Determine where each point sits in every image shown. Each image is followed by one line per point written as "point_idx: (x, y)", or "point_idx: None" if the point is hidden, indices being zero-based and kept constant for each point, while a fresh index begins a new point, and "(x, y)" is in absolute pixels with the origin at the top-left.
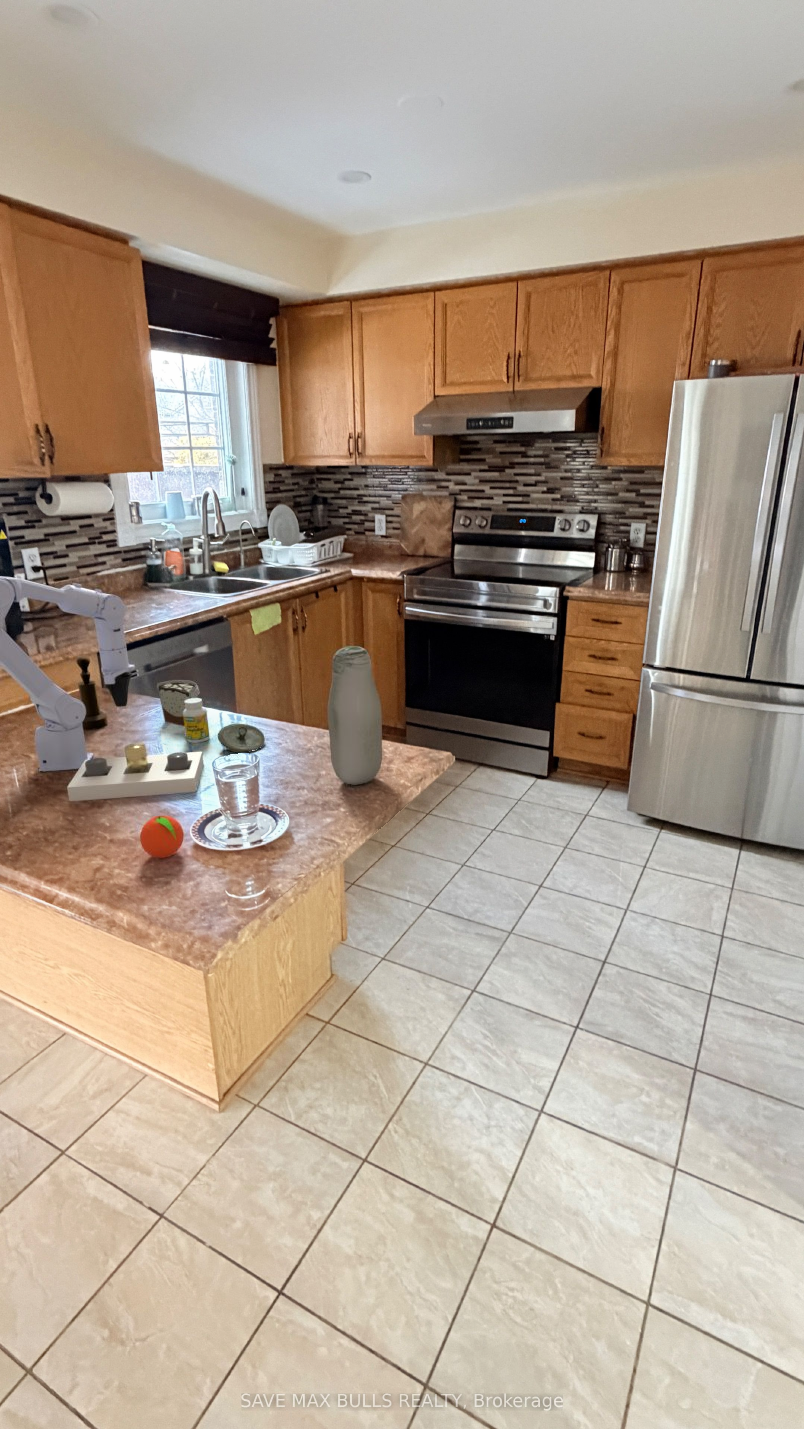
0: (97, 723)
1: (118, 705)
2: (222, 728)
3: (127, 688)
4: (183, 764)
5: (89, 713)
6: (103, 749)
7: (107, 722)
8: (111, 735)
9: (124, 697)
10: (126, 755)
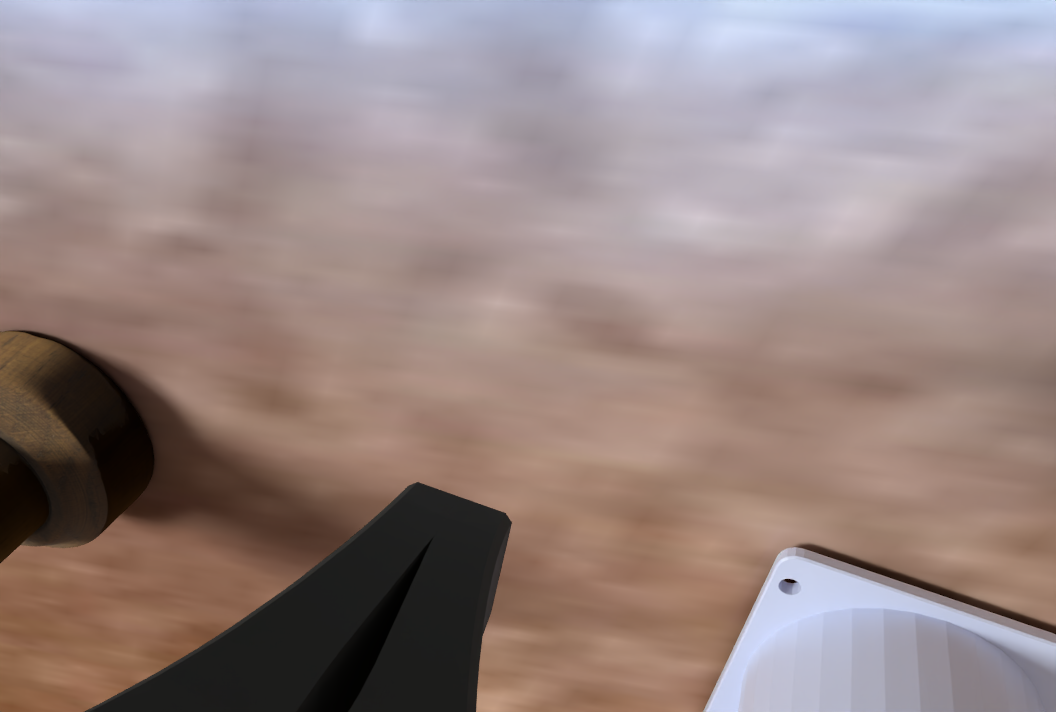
0: (106, 433)
1: (487, 610)
2: None
3: (277, 701)
4: None
5: (25, 522)
6: (658, 451)
7: (28, 338)
8: (314, 343)
9: (476, 652)
10: None
